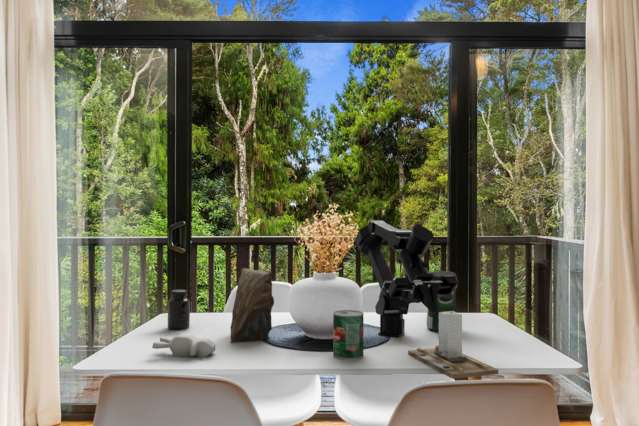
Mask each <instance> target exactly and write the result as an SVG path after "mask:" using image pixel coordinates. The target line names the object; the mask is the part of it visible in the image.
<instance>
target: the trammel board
mask: <svg viewBox="0 0 639 426" xmlns="http://www.w3.org/2000/svg"><path fill="white" fill-rule="evenodd" d="M434 351H439V344H438V345H437V344H436V345H435V346H434V347H433V348H422V347H420V346H417V347H416V349H410V350H407V355H408V356H410V357H412V358H414V359H415V360H417V361H419V362H420V363H423V364H425V365H426V364H427V366H428V367H430V368H432V369H434V370H436V371H437V372H439V373H440V374H441V373H442V374H443V375H444V376H447V377H448V378H451V380H453V379H454V380H456V379H462V378H463V379H464V378H473V377H481V376H491V375H499V369H498V368H496V367H494V366H492V365H489V364H487V363H485V362H483V361H480V360H478V359H476V358H474V357H471V356H469V355H467V354H464V353H462V355H464V356H466V361H457V362H448V361H446V360H444V359H442V358H440V357H438V356H436V355H435V354H434Z"/></svg>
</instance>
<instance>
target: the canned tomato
mask: <svg viewBox="0 0 639 426" xmlns="http://www.w3.org/2000/svg"><path fill="white" fill-rule="evenodd" d="M332 315H333V317H332V318H333V319H332V321H333V323H332V324H333V326H332V327H333V329H332V330H333V335H332V336H333V337H332V341H333V343H332V345H333V346H332V347H333V348H332V349H333V350H332V351H333V353H332V355H333V357H335V358H337V359H338V360H339V359H340V360H345V361H346V360H348V361H349V360H359V359H362V358H363V357H364V315H365V314H364V312H362V311H360V310H351V309H342V310H341V309H340V310H336V311H333V312H332Z"/></svg>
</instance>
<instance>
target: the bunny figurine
mask: <svg viewBox="0 0 639 426" xmlns="http://www.w3.org/2000/svg"><path fill="white" fill-rule="evenodd" d="M151 346H152V349H156V350H158V349H170V352H171V353H172V356H174V357H179V358H186V357H193V356H196V357H198V358H206V357H207V356H209V355H212V354H213V353H214V352H215V351H216V348H217V347H216V346H217V344H216V343H214V342H213V341H212V340H211V339H210V338H206V337H204V338H201V337H196V336H194V335H193V334H189V333H180V334H178V335H176V336H173V337H172V338H170V337H167V336H161V337H159V341H158V342H157V341H156V342H153V343H152V345H151Z"/></svg>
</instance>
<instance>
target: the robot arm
mask: <svg viewBox="0 0 639 426" xmlns="http://www.w3.org/2000/svg"><path fill="white" fill-rule="evenodd" d="M357 233H358V235H357V234H356V235H357V237H356V236H355V237H356V238H355V239H354V243H355V245H356V246H357V248H358V250H359V252H360V254H361V253H362V254H363V255H364V256H366V257H367V259H368V261H369V264H370V266H371V268H372V270H373V274H374V276H375V278H376V280H377V284H378V286H379V288H380V292H379V295H378V300H377V302H376V304H375V307H374V308H375V313H376V314H377V315H379V317H380V318H379V319H380V320H379V323H380V324H379V326H380V327H379V328H380V329H379V332H378V333H377V334H378V335H379V336H385V337H386V336H388V337H396V338H398V337H399V338H400V337H401V336H403V334H405V328H406V327H405V320H406V319H404V315H408V313H409V308H410V304H420V303H422V304H423V305H424V307H426V309H427V310H428V309H429V310H430V311H431V312H432V313H436V311H437V294H439V295H450V294H451V293H452V292H453V290H454V289H455V287H456V286H457V284H459V281H458V277H457V278H456V277H455V276H453V275H451V276H441V278H440V279H439V281H432V278H433V274H432V273H429V272H430V271H429V270H428V269H427V267H428V265H429V264H428V262H427V261H424V259H423V257H422V256H421V255H424V254H425V253H426V252H427V250H428V249H429V246H430V245H431V243H432V241H433V238H434V233H433V232H432V230H430V229H429V228H427V227H425V226H423V224H422V223H414V225H413V227H412V229H411V230H410V229H399V228H396V227H394V226H392V225H391V224H388V223H386V222H385V221H384V220H370V221H369V222H368V223H367V225H365V226H363V227H362V228H360V229H359V230H358V232H357ZM384 241H387V246H389V248H390V249H392V250H393V251H400V252H399V254H398V258H397V264H402V267H403V270H404V271H405V273H404V276H403V277H402V276H399V277H396V276H395V277H394V276H393V274H392V272H391V270H390V268H389V266H388V265H389V264H388V262H387V261H386V258H385V255H384V254H383V252H382V251H383V250H382V245H383V242H384ZM457 287H458V286H457Z"/></svg>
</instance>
